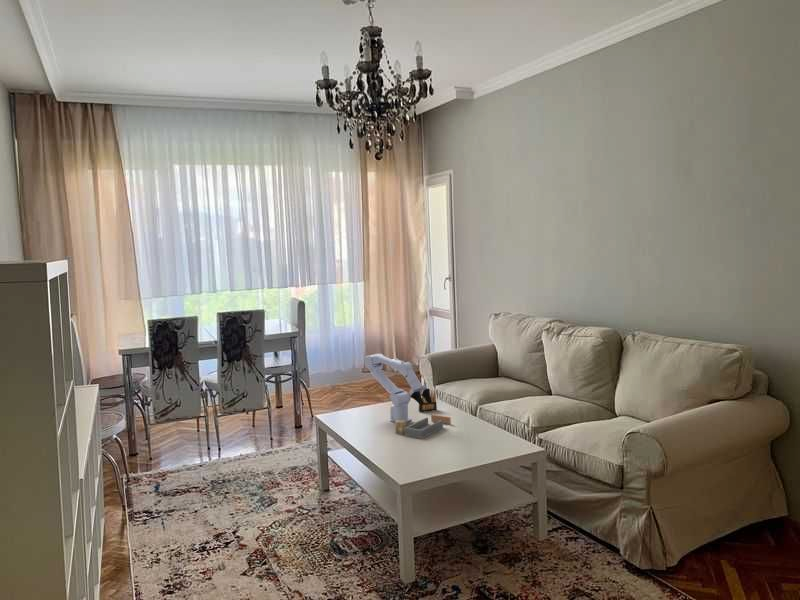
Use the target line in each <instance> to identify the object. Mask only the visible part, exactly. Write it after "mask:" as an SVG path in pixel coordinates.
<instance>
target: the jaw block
mask: <svg viewBox="0 0 800 600" xmlns="http://www.w3.org/2000/svg"><path fill="white" fill-rule="evenodd" d="M394 427H395V428H394V431H395V432H396V434H399V433H401V434H400V435H402V433H403V434H405V433H404V432H405V427H407V422H406V421H404V420H397V421H395V422H394Z"/></svg>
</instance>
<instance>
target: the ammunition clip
mask: <svg viewBox="0 0 800 600" xmlns="http://www.w3.org/2000/svg"><path fill="white" fill-rule="evenodd" d="M422 393H423V392H420V395H421V394H422ZM430 397H431V400H432V402H431V403H430V404H429V403H428V402H427V401H426V399H425V398H424V397H423V396H422V395H421V398H422V400H423V402H424V404H423V405H420V404H419V403H418V412H419V413H424V411H426V412H432V410H435V411H437V410H438V408H437V407H438V406H437V395H436V390H435V389H434V390H430Z"/></svg>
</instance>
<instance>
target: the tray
mask: <svg viewBox="0 0 800 600" xmlns="http://www.w3.org/2000/svg"><path fill="white" fill-rule="evenodd" d="M443 428H444V423H443V420H440V421H438V422H434V423H432V424H431V423H429V417H424V418H422V419H420V420H418V421H416V422H414V423H411V424H409V425H408V426H407V425H406V427H405V433H404V436H406V437H411V436H412V438H416V437H417V438H418V439H424V438H426V437H428V436H430V435H431V433H432V434H433V433H435V432H437V431H439V430H441V429H443Z"/></svg>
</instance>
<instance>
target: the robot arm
mask: <svg viewBox="0 0 800 600" xmlns="http://www.w3.org/2000/svg"><path fill="white" fill-rule="evenodd" d="M383 365H387V366H390V368H391V369H393V370H396V371H398V373H399V374H400V375H402V377H404V378H405V379H406V381H407V383H408V385H409V386H410V387H409V388H411V389H410V390H409V391H405V390H404V388H399V387H398V386H397V385H396V384H395V383H394V382H393V381H392V380H391V379H390V378H389V377H388V376H387V375H386V374H385V372H383V371H382V370H383ZM364 366H365V367H366V368H367V369H368V370H369V372H370V373H371V375H372V377H373V378H374V379H375V380H376V381H377V382H378V383H379V384H380V385H381V386H382V387H383V388H384V389H385V390H386V392H388V393H389V399H390V401H391V403H392V405H391V406H390V414H389V415H390V419H389V422H394V423H395V421H397V420H404V421H406V423H408V422H409V421H412V418H409V403H410V402H411V399H413V400H415V401H416V403H418V405H419V404H420V405H423V404H424V402H423V400H422V396H423V397H424V398H425V399H426V401H427V402H428V403H429V404H430V403H431V402H432V400H431V390H430V388H429V387H428V386H425V385H424V384H422V383H421V381H420V380H419V378H418V376H417V374H416V373H415V371H414V365H413V363H412V362H410V361H407V362H405V361H404V360H400V359H399V358H398V357H396V358H393V359H392V358H389V357H387V356H385V355H384V354H383V353H380V352H379V353H374V354H371V355H366V356H365V357H364ZM420 392H421V395H420ZM422 392H423V393H422Z"/></svg>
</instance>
